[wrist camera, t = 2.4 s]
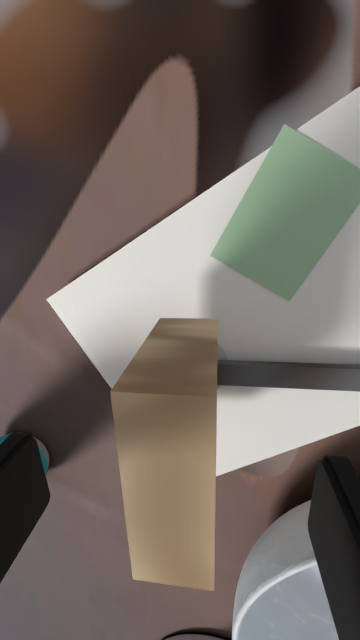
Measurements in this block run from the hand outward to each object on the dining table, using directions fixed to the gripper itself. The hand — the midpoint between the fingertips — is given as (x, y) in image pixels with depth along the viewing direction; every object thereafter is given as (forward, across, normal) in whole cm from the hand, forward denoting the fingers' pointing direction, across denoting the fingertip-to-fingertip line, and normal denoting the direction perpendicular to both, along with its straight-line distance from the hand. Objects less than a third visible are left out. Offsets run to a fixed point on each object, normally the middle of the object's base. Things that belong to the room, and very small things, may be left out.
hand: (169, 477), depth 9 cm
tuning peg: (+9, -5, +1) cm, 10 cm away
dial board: (+11, -5, -2) cm, 12 cm away
